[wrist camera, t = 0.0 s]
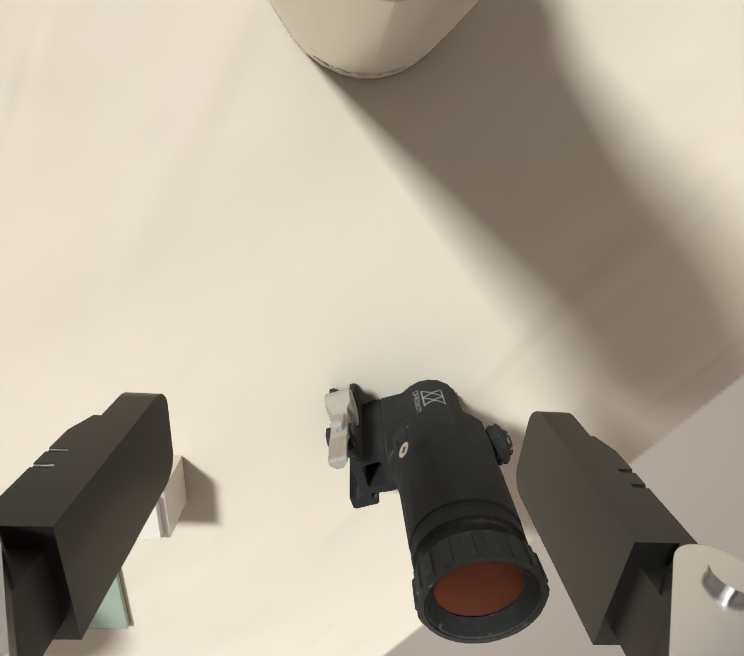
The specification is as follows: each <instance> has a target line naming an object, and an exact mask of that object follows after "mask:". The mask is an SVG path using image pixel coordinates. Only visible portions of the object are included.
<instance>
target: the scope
mask: <svg viewBox="0 0 744 656" xmlns="http://www.w3.org/2000/svg"><path fill="white" fill-rule="evenodd" d="M325 406H326V409H327V412H328V414H329V417H330V420H331V424H330V427H331V428H327V429H326V440H327V444H328V446H329V456H328V461H329V465H330V466H331V467H334V468H336V469H339V468H344V466H345V464H346V463H347V461H348V459H347V458H349V457H350V500H351V502H352V505H353V507H354V508H360V507H365V506H369V505H373V504H378V502H379V493H380V492H387V491H392V490H396V489H398V491H399V494H400V498H401V504H402V510H403V515H404V521H405V527H406V533H407V538H408V544H409V549H410V552H411V560H412V565H413V569H414V579H413V580H412V587H413V595H414V603H415V609H416V610H417V612H418V618H419V619H420V621H421V622H422V623H423V624H424V625H425V626H427V627H428V628H429V630H431V631H432V632H434V633H435V634H437V635H438V636H440V637H443V638H445V639H448V640H452V641H455V642H460V643H488V642H492V641H496V640H500V639H503V638H506V637H509V636H511V635H514V634H516V633H518V632H520V631H521V630H523V629H525V628H526V627H527V626H529V625H530V624H531V623H532V622H534V620H535V619H536V618H537V617H538V616H539V615H540V613H541V612H542V610H543V608H544V606H545V604H546V601H547V599H548V597H549V590H550V589H549V587H548V585H547V583H548V579H547V577H546V574H545V572H544V570H543V567H542V565H541V563H540V561H539V558H538V556H537V554H536V553H534V552H533V551H532V548H531V546H530V545H528V542H527V539H526V537H525V534H524V531H523V528H522V524H521V521H520V519H519V516H518V513H517V511H516V508H515V506H514V503H513V500H512V498H511V495H510V493H509V490H508V488H507V485H506V482H505V480H504V477H503V475H502V472H501V470H500V467H499V466H500V465H502V464H503V463H504V464H508V463H509V460H510V456H511V455H512V453H513V449H511V447H512V442H511V439H510V436H509V435H506V434H508V433H507V432H506V431H505V430H503V429H501V427H499V426H498V425H497V424H494V425H493V426H490V425H489V426H487V428H486V430H485V429H484V426H483V424H482V422H481V421H479V420H478V419H476V418H474V417H473V416H471V415H469V414H467V413H465V412H463V411H462V409H461V406H460V404H459V401H458V399H457V396H456V394H455V392H454V391H453V390H452V389H451V388H450V387H449V386H448V384H445V383H443V382H440V381H438V380H425V381H420V382H417V383H415V384H414V385H412V386H410V387H409V388H407V389H406V390H405V391H404V392H403V393H401V394H397V395H393V396H389V397H386V398H382V399H381V400H380V399H378V400H374V401H371V402H369V403H366V404H364V405H362V406H361V402H360V399H359V396H358V393H357V390H356V387H355V384H354V383H353V384H350V388H348V389H344V390H340V391H335V389H334V388H333V389H330V393H329V394H325ZM509 449H511V450H509Z"/></svg>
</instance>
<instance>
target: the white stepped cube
mask: <svg viewBox="0 0 744 656" xmlns="http://www.w3.org/2000/svg"><path fill="white" fill-rule="evenodd" d="M186 502H187V495H186V487H185V478H184V470H183V461H182V456H177V455H173V465H172V471H171V475H170V478H169V481H168V483H167V485H166V487H165V489H164V491H163V493H162V495H161V496H160V498H159V500H158V502H157V504H156V505H155V507H154V509H153V511H152V513H151V515H150V516H149V518H148V520H147V522H146V524H145V525H144V527H143V529H142V531H141V533H140V534H139V536H138V538H137V539H161V538H162V537H171V535H172V533H173V531H174V528H175V526H176V524H177V522H178V520H179V517H180V515H181V513H182V511H183V508H184V506H185V504H186Z"/></svg>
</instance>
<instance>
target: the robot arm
mask: <svg viewBox="0 0 744 656" xmlns="http://www.w3.org/2000/svg"><path fill="white" fill-rule="evenodd" d="M268 1H269V2H270V4H271V6H272V7H273V9H274V10H275V12H276V14H277V15H278V17H279V18H280V20H281V21H282V23H283V25H284V26H285V28H286V29H287V31H288V33H289V34H290V35H291V37H292V38H293V39H294V40H295V41H296V43H297V44H298V45H299V46H300V47H301V48H302V50H303V51H304V52H305V53H306V54H308V55H309V56H310V57H311V58H313V59H314V60H315V61H317V62H318V63H319V64H320V65H322V66H324V67H326V68H328V69H330V70H332V71H334V72H336V73H338V74H340V75H345V76H350V77H354V78H359V79H369V78H382V77H386V76H389V75H393V74H397V73H399V72H401V71H403V70H405V69H407V68H408V67H410V66H412V65H414V64H416V63H417V62H418V61H419V60H420V59H422V58H423V57H424V56H425V55H426V54H427V53H429V52H430V51H431V50H432V49H433V48H434V47H435V46H436V45H437V44H438V43H439V42H440V41H441V40H442V39H443V38H444V37H445V36H446V35H447V34H448V33H449V32H450V31H451V30H452V29H453V28H454V27H455V25H456V24H457V23H458V22H459V21H460V20H461V19H462V18H463V17H464V16H465V15H466V14H467V13H468V12H469V11H470V10H471V9H472V8H473V6H474V5H475V4H476V3H477V2H478V1H479V0H268ZM172 465H173V449H172V440H171V431H170V422H169V412H168V404H167V400H166V397H165V396H164V395H163V394H151V393H128V392H126V393H123V394H121V395H120V396H119V397H118V398H117V399H116V400H115V401H114V402H113V404H112V405H111V406H110V407H109V408H108V409H107V410H106V411H105V412H104V413H103V414H102V415H93V416H91V417H89V418H88V419H86V420H84V421H82V422H80V423H79V424H77V425H75V426H73V427H72V428H70V429H68V430H67V431H66V432H65V433H64V434H63V435H62V436H61V437H60V438H59V439H58V440H57V441H56V442H55V443H54V444H53V445H52V446H51V447H50V448H49V451H48V452H47V451H45V452H44V453H43V454H42V455H41V456H40V457H39V458H38V459H37V460H36V461H35V462H34V465H33V467H29V468H28V469H27V470H26V471H25V472H24V473H23V474H22V475H21V476H20V477H19V478H18V479H17V480H16V481H15V482H14V483H13V484H12V485H11V486H10V487H9V488H8V489H7V490H6V491H5V492H4V493H3V494H2V495H1V496H0V656H43V654H44V653H45V651H46V649H47V648H48V646H49V645H50V643H51V641H52V640H53V639H70V640H82V638H83V636H84V634H85V632H86V631H87V629H88V627H89V625H90V623H91V621H92V620H93V618H94V616H95V614H96V612H97V611H98V609H99V607H100V605H101V603H102V602H103V600H104V598H105V596H106V594H107V592H108V591H109V589H110V587H111V585H112V583H113V582H114V580H115V578H116V576H117V574H118V573H119V571H120V569H121V567H122V565H123V563H124V562H125V560H126V558H127V556H128V554H129V553H130V551H131V549H132V547H133V545H134V544H135V542H136V540H137V538H138V536H139V534H140V533H141V531H142V529H143V527H144V525H145V524H146V522H147V520H148V518H149V516H150V515H151V513H152V511H153V509H154V507H155V505H156V504H157V502H158V500H159V498H160V496H161V495H162V493H163V491H164V489H165V487H166V485H167V483H168V481H169V478H170V475H171V471H172ZM516 476H517V487H518V491H519V494H520V497H521V499H522V501H523V503H524V505H525V507H526V509H527V511H528V513H529V515H530V517H531V519H532V521H533V523H534V525H535V527H536V529H537V531H538V533H539V536H540V538H541V540H542V541H543V544H544V546H545V547H546V550H547V552H548V554H549V556H550V558H551V560H552V562H553V564H554V566H555V568H556V570H557V572H558V574H559V576H560V578H561V580H562V582H563V584H564V586H565V588H566V590H567V592H568V595H569V597H570V598H571V601H572V603H573V605H574V607H575V609H576V611H577V613H578V615H579V617H580V619H581V621H582V623H583V625H584V627H585V629H586V631H587V633H588V635H589V637H590V639H591V641H592V643H593V645H621V647H622V649H623V651H624V653H625V655H626V656H744V561H742V560H741V559H739V558H737V557H735V556H733V555H731V554H729V553H727V552H724V551H722V550H720V549H717V548H714V547H710V546H706V545H701V544H697V542H696V541H695V540H694V539H693V538H692V537H691V536H690V535H689V533H688V532H687V531H686V530H685V529H684V528H683V527H682V525H681V524H680V523H679V522H678V521H677V520H676V519H675V517H674V516H673V515H672V514H671V513H670V512H669V511H668V510H667V509H666V507H665V506H664V505H663V504H662V503H661V502H660V500H658V498H657V497H656V496H655V495H654V494H653V493H652V492H651V490H650V489H649V488H646V487H645V483H644V482H643V481H642V480H641V479H640V478H639V477H638V476H637V474H636V473H632V469H631V468H630V466H629V465H628V464H627V463H626V462H625V461H624V460H623V459H622V457H621V456H620V455H619V454H618V453H617V452H616V451H615V450H613V449H612V448H610V447H609V446H607V445H606V444H605V443H603V442H602V441H600V440H599V439H597V438H596V437H594V436H590V435H589V434H588V433H587V432H586V430H585V429H584V428H583V427H582V426H581V425H580V423H579V422H578V421H577V420H576V419H575V417H574V416H573V415H572V414H570V413H562V412H539V411H536V412H533V413H532V415H531V416H530V418H529V422H528V426H527V430H526V434H525V438H524V442H523V446H522V450H521V454H520V458H519V462H518V466H517V475H516Z"/></svg>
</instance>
